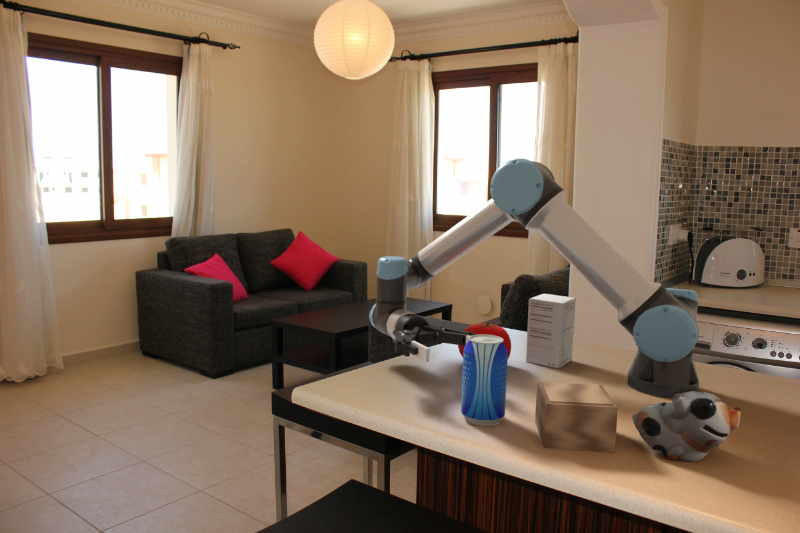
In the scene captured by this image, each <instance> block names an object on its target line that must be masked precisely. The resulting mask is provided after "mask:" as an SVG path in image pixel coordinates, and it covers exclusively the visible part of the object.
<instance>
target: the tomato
mask: <svg viewBox="0 0 800 533" xmlns="http://www.w3.org/2000/svg"><path fill="white" fill-rule="evenodd" d="M463 331H466V332H470V331H471V332H472V333H476V334H477V335H480V334H485V335H494V336H498V337H501V338H503V340H504V341H503V343H504V345H505V347H506V349H507V351H508V359H509V358H510V356H511V351H512V340H511V337H510V335H509V333H508V331H507V330H506V329H504V328H503V326H500V325H496V324H493V323H492V324H490V323H489V322H487V323H477V324H474V323H473V324H472V325H469V326H468V327H466V328H464V330H463ZM464 347H465V346H462V345H457V348H458V351H459V352H458V353H459V354H460V356H461V357H462V358H463V350H464Z"/></svg>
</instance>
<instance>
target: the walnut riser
mask: <svg viewBox="0 0 800 533" xmlns="http://www.w3.org/2000/svg"><path fill="white" fill-rule="evenodd" d="M535 395H536V396H535V397H536V399H535V411H534V412H535V413H534V414H535V415H534V416H535V417H534V422H535V426H536V429H537V432H538V435H539V438H540V441H541V444H542V447H543V449H551V450H553V449H554V450H569V451H585V452H600V453H601V452H603V453H615V452H616V439H617V425H618V414H619V407H618V405H617V404H616V403H615V402H614V400H613V398H612V397H611V396H610V395H609V393H608V391H607V390H606V389H605V387H604V386H603V385H602V384H587V383H569V382H568V383H567V382H551V381H550V382H548V381H536V394H535Z"/></svg>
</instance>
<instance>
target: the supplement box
mask: <svg viewBox="0 0 800 533" xmlns="http://www.w3.org/2000/svg"><path fill="white" fill-rule="evenodd" d="M576 301H577V300H576V297H572V296H564V295H557V294H550V293H542V294H539V295H536V296H533V297H531V298H529V299H528V314H527V316H528V318H527V330H526V332H527V333H526V334H527V335H526V354H525V355H526V356H525V362H526V363H531V364H536V365H540V366H545V367H550V368H554V369H560V368H562V367H564V366H566V364H569V363H570V362H572V361H573V351H574V333H575V319H576V318H575V316H576Z"/></svg>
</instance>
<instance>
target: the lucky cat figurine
mask: <svg viewBox="0 0 800 533" xmlns="http://www.w3.org/2000/svg"><path fill="white" fill-rule="evenodd" d="M742 410H743V408H742V407H738V406H731V407H730V406H729V405H728V404H727V403H726V402H724V401H723V399H721V398H720V397H718V396H716V394H713V393H710V392H706V391H702V392H701V391H698V392H695V391H690V392H685V393H681V394H679V393H678V394H676V395H674V396H673V397H672V402H666V401H664V402H659V403H654V404H651V405H648V406H645V407H643V408H641V409H640V410H638V411H637V412H635V413H634V414H633V415H632V417H631V418H632V422H633V424H634V427H635V428H636V430H637V432H638V433H639V435H640V437H641V439H642V440H643V441H644V442H645V444H646V445H647V446H648V447H649V448H650V449H652V450H653V451H658V452H659V451H660V453H661V455H662V457H663V458H664V459H666V460H668V461H669V460H670V461H679V462H680V461H681V462H694V463H695V462H697V463H699V462H700V461H701V460H703V458H704V457H706V456H708V454H709V452H710V451H711V450H712V449H715V448H717V447H719V446H720V445H721V444H722V443H724V441H726V440H727V439H728V437H729V435H730V433H731V432H732V431H733V430H735V429H737V428H738V427H739V426H740V420H741V419H742V418H743V416H742V412H741V411H742Z"/></svg>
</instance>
